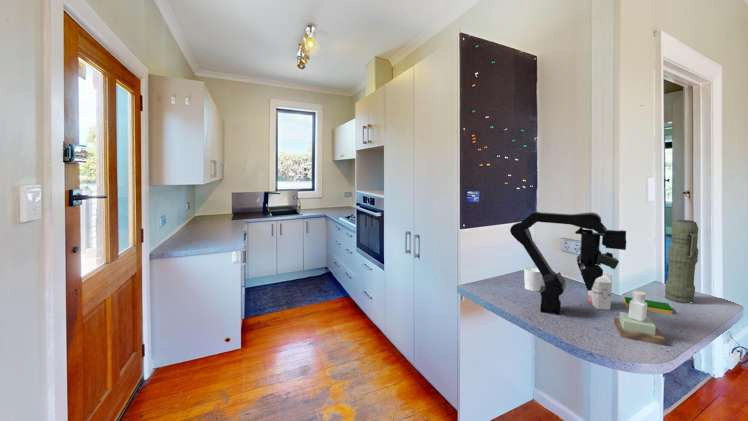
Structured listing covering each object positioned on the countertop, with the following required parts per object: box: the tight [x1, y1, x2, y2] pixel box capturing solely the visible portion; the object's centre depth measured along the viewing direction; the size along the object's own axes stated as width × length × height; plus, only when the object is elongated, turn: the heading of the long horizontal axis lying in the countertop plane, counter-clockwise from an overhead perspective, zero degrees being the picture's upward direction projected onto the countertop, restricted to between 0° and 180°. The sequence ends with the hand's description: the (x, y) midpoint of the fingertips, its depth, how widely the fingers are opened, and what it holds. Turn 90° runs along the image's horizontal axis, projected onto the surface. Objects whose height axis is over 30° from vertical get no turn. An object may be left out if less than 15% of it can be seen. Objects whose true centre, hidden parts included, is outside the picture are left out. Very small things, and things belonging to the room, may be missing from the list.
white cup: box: [523, 266, 543, 292], centre depth 143 cm, size 8×8×10 cm
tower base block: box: [613, 317, 666, 346], centre depth 101 cm, size 11×11×3 cm
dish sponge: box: [623, 296, 673, 315], centre depth 122 cm, size 7×14×2 cm, turn 56°
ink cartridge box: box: [587, 270, 613, 310], centre depth 123 cm, size 9×5×15 cm, turn 168°
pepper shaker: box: [628, 290, 648, 322], centre depth 101 cm, size 4×4×10 cm
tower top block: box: [618, 311, 657, 335], centre depth 101 cm, size 8×8×3 cm
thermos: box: [664, 219, 699, 304], centre depth 126 cm, size 9×12×35 cm
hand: (587, 286), depth 111 cm, fingers open, 9 cm apart
